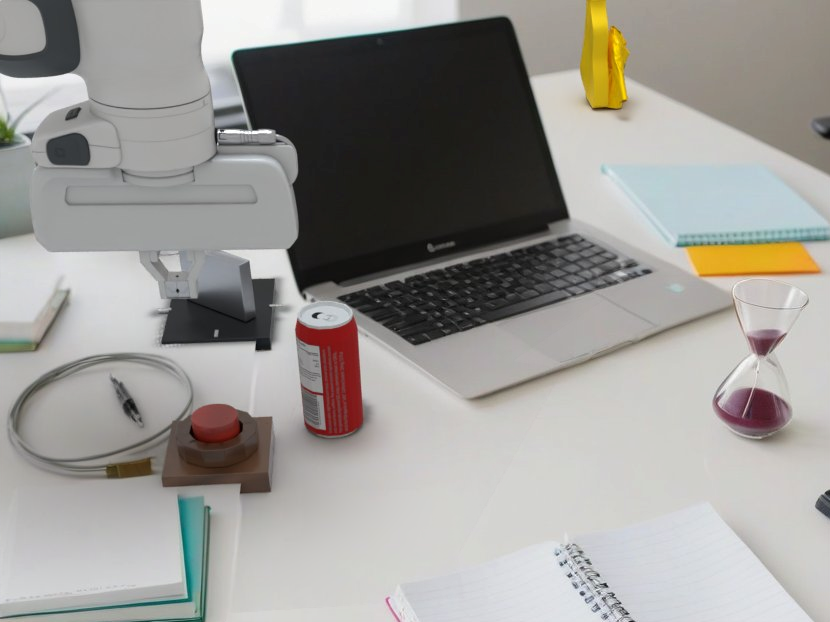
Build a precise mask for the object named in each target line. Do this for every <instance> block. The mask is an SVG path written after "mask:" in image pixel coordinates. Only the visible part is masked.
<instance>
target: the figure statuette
mask: <svg viewBox="0 0 830 622" xmlns="http://www.w3.org/2000/svg"><path fill="white" fill-rule="evenodd" d="M583 32H584V33H583V42H582V48H581V55H580V62H579V73H580V78H581V83H582V85H583V90H584V93H585V98H586V99H587V101H588V103H589V105H590V107H591V108H592V109H596V108H597V109H598V108H610V109H616V110H617V109H622V108H623V103H626V102H628V100H629V99H628V94H627V93H628V91H627V88H626V78H625V68H626V63H627V61H628V58H629V57H630V56H629V55H630V53H631V51H630V50H629V49H628V48H627V45H628V44H627V43H628V41H627V40H626V39H625V38H624V34H622V31H621V30H620V29H618V27H616V26H615V25H611V26H609V19H608V12H607V0H586V1H585V19H584V31H583Z"/></svg>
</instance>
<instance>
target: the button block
mask: <svg viewBox="0 0 830 622" xmlns="http://www.w3.org/2000/svg"><path fill="white" fill-rule="evenodd" d="M235 409H236V408H235ZM236 410H237V412H238V418H239V425H240V432H239V434H238V436H236V437H235V438H233V439H230V440H228V441H225V442H222V443H204V442H200V441H198V440H196V438H195V437H194V434H193V428H192V422H191V416H192V414H193V413H191V414H189V415H188V416H186V417H185V418H184V419H182V420H172V423H171V428H170V432H169V438H168V441H167V447H166V452H165V457H164V462H163V467H162V471H161V472H162V473H161V476H160V478H161V479H160V480H161V483H162V488H174V487H175V488H176V487H195V486H213V485H234V484H236V485H237V484H240V487H239V495H240V494H243V495H244V494H260V493H271V492H272V483H273V482H272V481H273V465H274V455H275V454H274V453H275V451H274V450H275V439H276V435H275V425H274V418H273V416H252V415H251V414H250V413H249V412H248V411H244V410H240V409H236Z"/></svg>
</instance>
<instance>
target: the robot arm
mask: <svg viewBox="0 0 830 622" xmlns="http://www.w3.org/2000/svg"><path fill="white" fill-rule="evenodd" d="M203 15H204V14H203V8H202V3H201V0H0V74H1V75H3V76H6V77H10V78H14V79H36V78H38V79H39V78H50V77H58V76H64V75H67V74H69V75H70V74H71V75H76V76H79V77H80V78H81V79H82V80H83V81H84V83H85V87H86V92H87V98H88V99H87V100H85V101H81V102H78V103H76V104H71V105H69V106H66V107H62V108H60V109H56V110H54V111H52V112H49V114H47V116H45V118H43V120H41V122H40V123H39V125H38V126H37V128H36V129H35V131H34V133H33V135H32V138H31V143H30V151H31V155H32V159H33V161H34V162H35V163H36V164H37V166H36V168H35V169H34V170H33V173H32V175H31V177H30V181H29V206H30V215H31V222H32V228H33V233H34V237H35V240H36V242H37V243H38V244H39V245H40V246H42V248H43V249H45V250H46V251H47V252H49V253H94V252H95V253H96V252H97V253H99V252H100V253H101V252H103V253H104V252H138V255H139V261H140V264H141V265H142V266H143V268H144V269H145V270H146V271H147V272H148V273H149V274H150V276H151V277H152V278H153V279H154V281H155V282H157V285H158V290H159V297H160V299H161V300H171V299H191V298H197V297H198V293H199V287H198V279H197V277H198V275H199V273H200V271H201V269H202V267H203V265H204V263H205V260H206V256H207V250H221V251H244V250H245V251H250V250H251V251H253V250H254V251H255V250H257V251H258V250H259V251H260V250H263V251H265V250H289V249H290V248H291V247H292V246H293V245H294V244H295V242H296V241H297V240H298V237H299V228H300V225H299V223H300V222H299V213H298V207H297V202H296V194H295V190H294V187H293V184H294V183H295V182H296V180H297V178H298V175H299V161H298V153H297V149H296V147H295V145H294V143H293V142H292V141H291V140H290V139H289V138H288V137H285V136H284V135H280V134H277V132H276V130H275V129H270V128H258V129H255V130H254V129H253V130H251V129H249V130H248V129H240V128H217V127H216V121H215V112H214V102H213V95H212V88H211V87H212V86H211V81H210V78H209V75H208V72H207V70H206V68H205V65H204V62H203V61H204V60H203V56H202V55H203V54H202V43H203V35H204V27H205V26H204V25H205V24H204V17H203ZM277 141H279V142H277ZM161 251H186V253H187V260H188V261H189V262H192V264H191V266H190V268H189V270H188V271H169V269H168V268H167V267H166V265H165V264H164V263H163V262H162V260H161V259H160V256H161V255H160V252H161Z"/></svg>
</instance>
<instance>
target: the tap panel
mask: <svg viewBox="0 0 830 622" xmlns="http://www.w3.org/2000/svg"><path fill="white" fill-rule="evenodd" d="M252 286H253V294H254V302H255V311H256V317H254V318H252V319H250V320H249V321H247V322H245V321H242V320H240V319H237V318H234V317H232V316H229V315H226V314H224V313H221V312H219V311H216V310H213V309H211V308H208V307H206V306H203V305H200V304H198V303H195V302H193V301H190V300H187V299H170V304H169V307H158V308H157V312H167V316H166V321H165V325H164V329H163V331H162V332H163V333H162V337H161V341H160V342H161V345H181V344H183V345H185V344H206V343H210V344H211V343H237V342H255V346H254V351H255V352H256V351H272V345H273V344H272V343H273V331H274V319H275V309H276V308H283V305H284V304H283V303H279V304H278V303H276V296H277V286H276V278H252Z"/></svg>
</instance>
